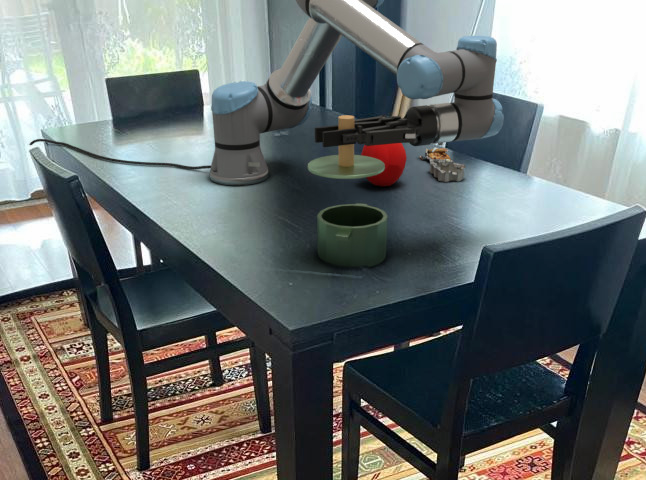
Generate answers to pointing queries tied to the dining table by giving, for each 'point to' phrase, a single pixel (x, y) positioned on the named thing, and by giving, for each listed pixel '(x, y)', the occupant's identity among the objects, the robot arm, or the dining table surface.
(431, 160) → the egg carton
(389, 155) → the tomato
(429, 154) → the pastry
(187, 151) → the dining table surface
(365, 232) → the pot
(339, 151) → the lid
